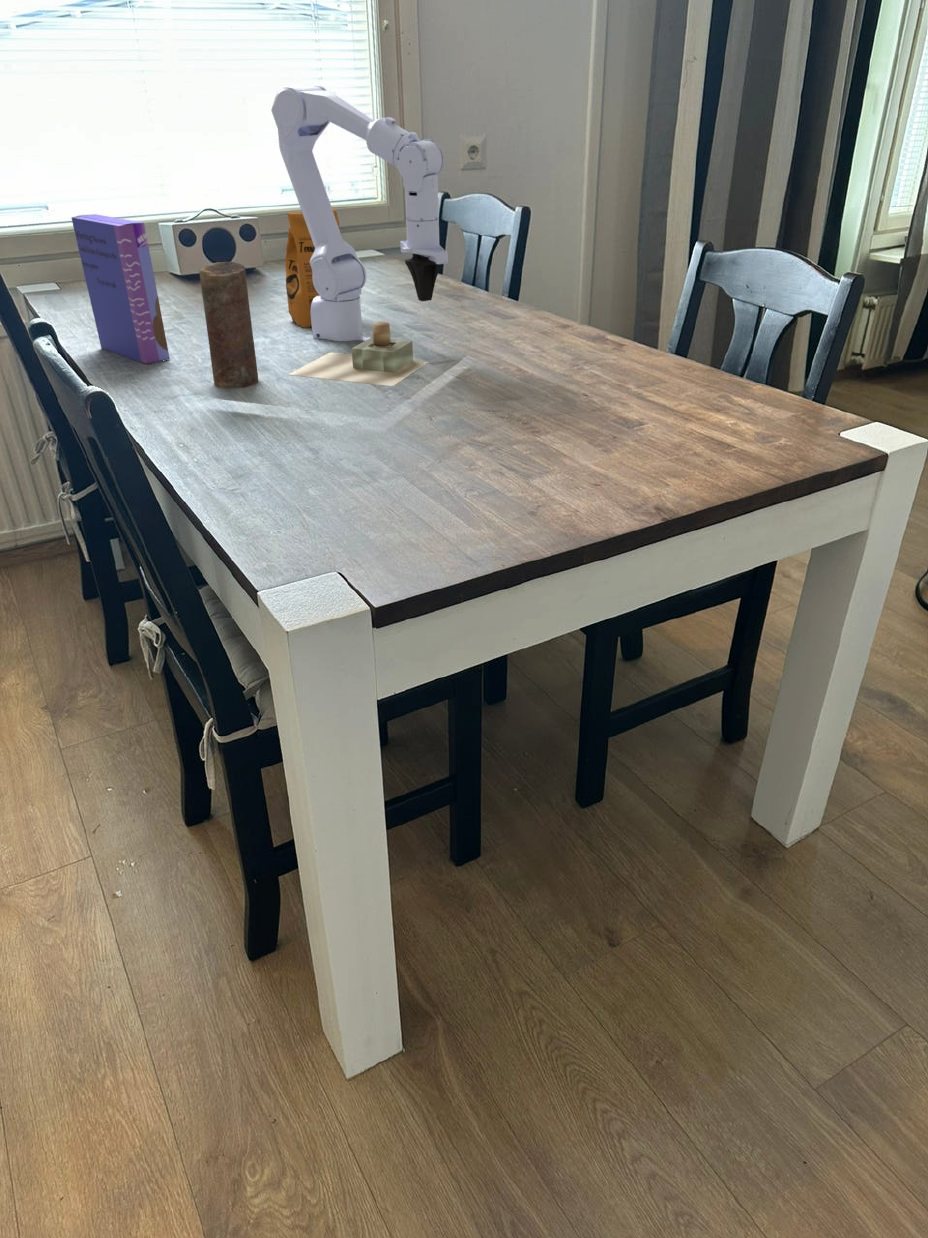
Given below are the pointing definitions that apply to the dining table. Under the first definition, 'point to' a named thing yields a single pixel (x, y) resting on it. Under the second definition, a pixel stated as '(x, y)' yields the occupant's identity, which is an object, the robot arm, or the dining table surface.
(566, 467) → the dining table surface
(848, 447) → the dining table surface
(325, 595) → the dining table surface
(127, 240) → the cereal box
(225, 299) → the brown faceted post
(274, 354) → the dining table surface
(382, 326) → the peg
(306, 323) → the coffee package
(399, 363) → the board
